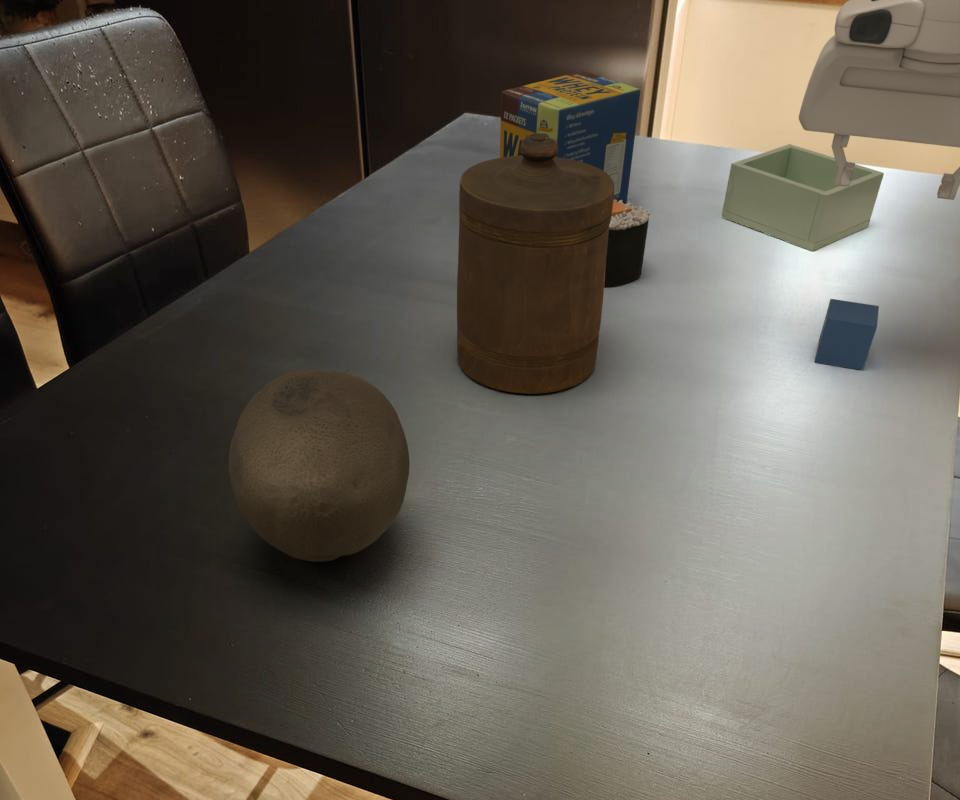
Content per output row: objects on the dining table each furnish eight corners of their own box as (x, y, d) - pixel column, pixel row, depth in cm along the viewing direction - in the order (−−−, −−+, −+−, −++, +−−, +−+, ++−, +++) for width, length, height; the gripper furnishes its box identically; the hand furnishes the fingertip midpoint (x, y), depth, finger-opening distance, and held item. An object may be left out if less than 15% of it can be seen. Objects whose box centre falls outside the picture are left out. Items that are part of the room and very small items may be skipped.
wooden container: (620, 352, 101) (648, 130, 86) (549, 411, 92) (566, 175, 77) (506, 315, 107) (513, 101, 92) (429, 367, 98) (422, 140, 83)
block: (864, 349, 102) (879, 305, 99) (862, 370, 99) (877, 326, 96) (818, 341, 104) (830, 298, 100) (814, 362, 100) (827, 318, 97)
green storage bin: (868, 227, 128) (884, 172, 123) (812, 251, 121) (827, 195, 116) (777, 196, 135) (789, 143, 131) (721, 217, 129) (731, 163, 124)
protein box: (496, 217, 128) (499, 90, 117) (574, 191, 136) (584, 69, 125) (549, 240, 123) (558, 109, 112) (628, 212, 130) (643, 86, 119)
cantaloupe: (207, 562, 75) (165, 395, 65) (322, 478, 84) (301, 319, 73) (342, 631, 70) (321, 462, 59) (450, 534, 78) (449, 371, 68)
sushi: (605, 292, 112) (612, 224, 106) (560, 268, 117) (565, 201, 111) (654, 276, 115) (663, 209, 110) (608, 253, 120) (616, 188, 114)
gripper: (1075, 21, 79) (1008, 193, 88) (825, 1, 83) (788, 167, 93) (1083, 38, 74) (1012, 217, 84) (820, 16, 79) (781, 188, 89)
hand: (892, 190), depth 89 cm, fingers open, 8 cm apart
